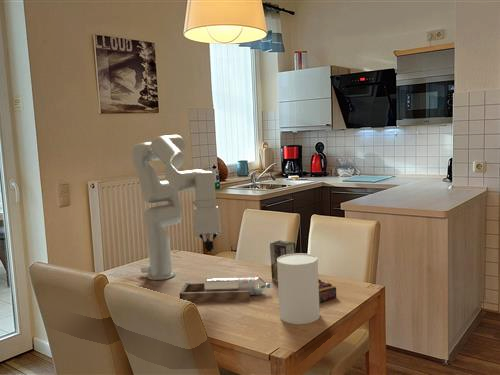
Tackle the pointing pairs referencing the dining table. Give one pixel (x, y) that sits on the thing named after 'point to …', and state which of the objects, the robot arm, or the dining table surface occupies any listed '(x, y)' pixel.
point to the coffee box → (279, 254)
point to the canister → (298, 288)
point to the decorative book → (326, 291)
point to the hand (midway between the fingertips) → (209, 250)
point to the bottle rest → (211, 294)
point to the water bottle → (236, 285)
